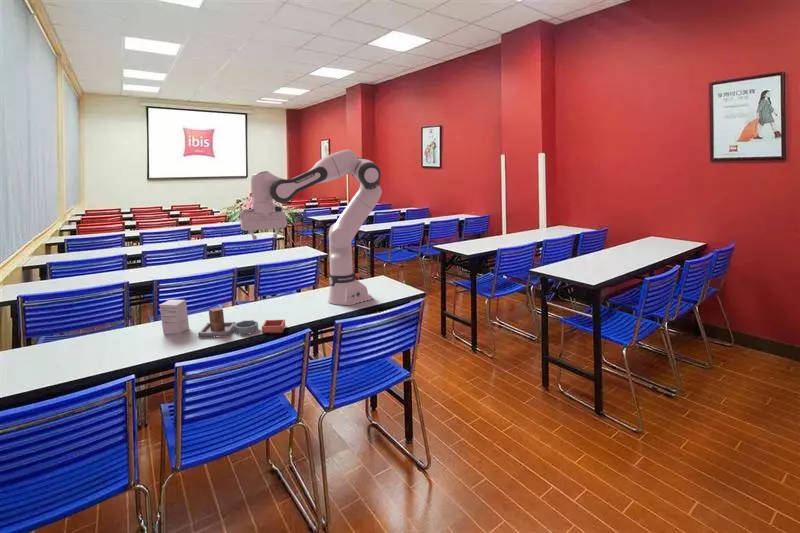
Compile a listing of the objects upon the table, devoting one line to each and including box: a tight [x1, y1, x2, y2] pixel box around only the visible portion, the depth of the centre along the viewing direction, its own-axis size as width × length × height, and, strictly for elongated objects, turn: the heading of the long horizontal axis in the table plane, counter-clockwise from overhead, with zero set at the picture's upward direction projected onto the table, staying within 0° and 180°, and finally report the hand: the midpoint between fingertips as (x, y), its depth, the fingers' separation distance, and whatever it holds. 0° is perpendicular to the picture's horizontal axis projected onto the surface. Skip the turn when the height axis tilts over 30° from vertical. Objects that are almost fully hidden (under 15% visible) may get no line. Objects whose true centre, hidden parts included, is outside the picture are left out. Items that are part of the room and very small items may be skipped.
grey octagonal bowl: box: [233, 319, 259, 335], centre depth 188 cm, size 9×9×3 cm
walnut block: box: [208, 306, 225, 332], centre depth 186 cm, size 4×4×9 cm
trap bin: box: [261, 319, 286, 334], centre depth 189 cm, size 8×8×3 cm
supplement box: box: [159, 299, 190, 335], centre depth 187 cm, size 7×7×13 cm
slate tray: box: [197, 321, 237, 338], centre depth 187 cm, size 12×12×2 cm
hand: (265, 238), depth 207 cm, fingers open, 8 cm apart
